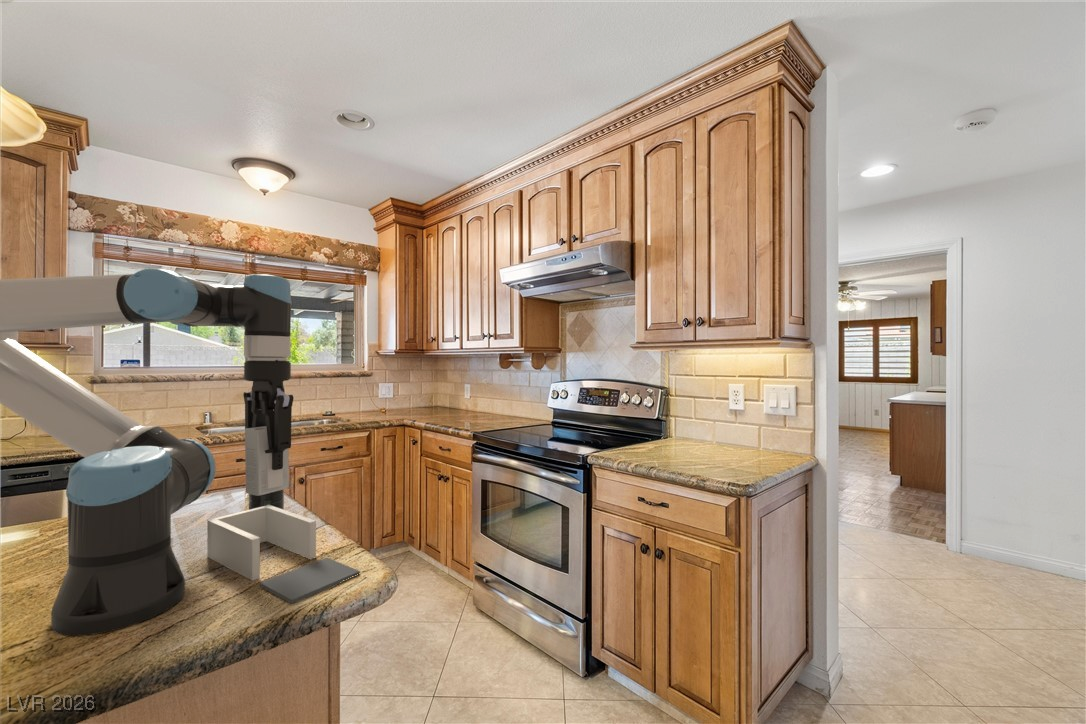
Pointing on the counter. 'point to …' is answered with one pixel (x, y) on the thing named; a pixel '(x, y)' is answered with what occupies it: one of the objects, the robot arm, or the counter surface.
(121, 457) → the robot arm
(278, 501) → the supplement bottle
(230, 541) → the white u-shaped frame
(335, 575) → the mat
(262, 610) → the counter surface
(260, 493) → the skincare box
